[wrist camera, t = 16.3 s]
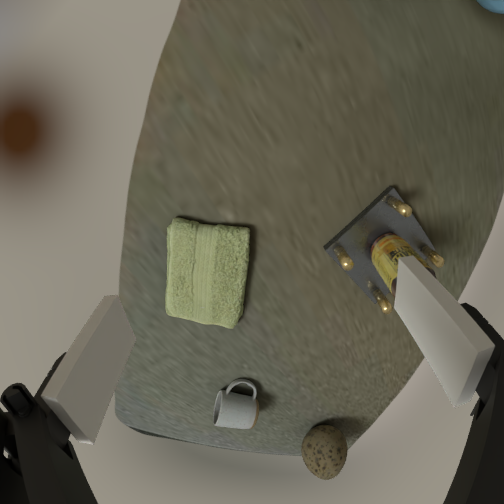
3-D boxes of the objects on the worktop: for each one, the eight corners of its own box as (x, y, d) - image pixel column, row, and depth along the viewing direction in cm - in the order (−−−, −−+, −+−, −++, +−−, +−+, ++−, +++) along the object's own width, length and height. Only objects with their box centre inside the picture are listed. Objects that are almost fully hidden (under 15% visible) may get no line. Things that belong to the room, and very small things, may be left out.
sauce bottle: (406, 231, 44) (479, 299, 26) (398, 267, 47) (459, 345, 29) (369, 229, 44) (433, 302, 26) (362, 267, 47) (414, 351, 28)
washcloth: (166, 311, 52) (162, 322, 49) (169, 213, 45) (163, 220, 42) (241, 322, 53) (241, 333, 50) (257, 224, 46) (257, 232, 43)
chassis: (389, 185, 43) (409, 196, 37) (431, 246, 47) (450, 262, 41) (323, 246, 47) (333, 265, 41) (372, 299, 51) (385, 321, 45)
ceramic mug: (250, 410, 62) (250, 438, 55) (213, 404, 61) (211, 431, 54) (265, 380, 58) (267, 409, 51) (225, 372, 57) (223, 401, 50)
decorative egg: (289, 430, 66) (295, 482, 52) (325, 410, 63) (336, 464, 49) (316, 442, 69) (324, 490, 55) (349, 424, 66) (362, 473, 52)
